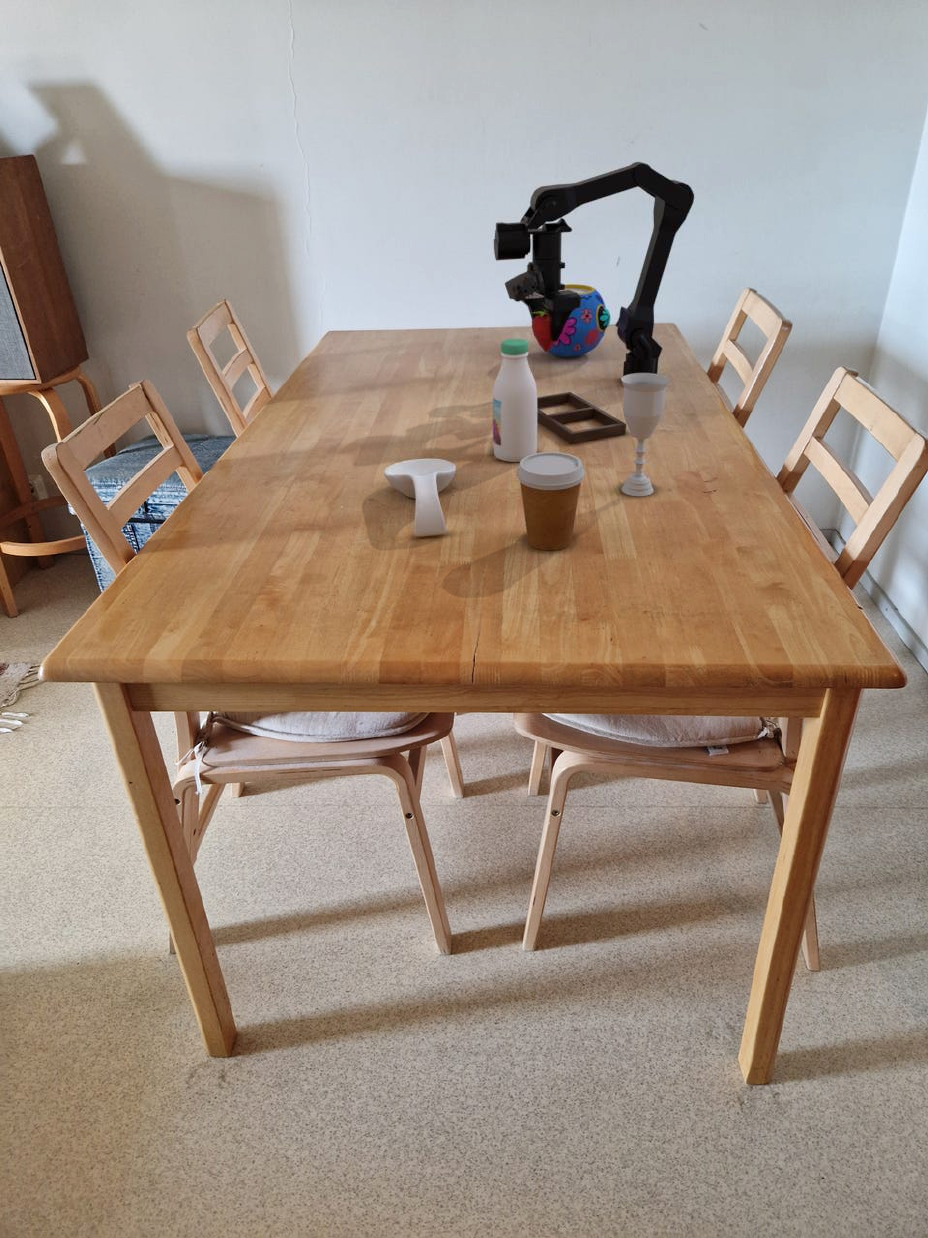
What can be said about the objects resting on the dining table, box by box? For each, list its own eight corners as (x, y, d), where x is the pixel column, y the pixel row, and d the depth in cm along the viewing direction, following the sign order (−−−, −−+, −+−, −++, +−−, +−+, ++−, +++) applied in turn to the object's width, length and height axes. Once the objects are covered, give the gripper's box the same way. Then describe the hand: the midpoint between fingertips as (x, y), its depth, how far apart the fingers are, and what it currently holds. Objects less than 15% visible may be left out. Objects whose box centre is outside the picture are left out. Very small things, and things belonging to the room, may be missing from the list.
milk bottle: (543, 450, 161) (544, 337, 150) (527, 465, 155) (527, 349, 145) (503, 445, 164) (502, 333, 153) (486, 459, 158) (484, 345, 147)
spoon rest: (383, 479, 152) (380, 439, 148) (452, 474, 153) (450, 433, 149) (393, 541, 132) (389, 496, 128) (472, 534, 133) (470, 489, 129)
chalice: (663, 484, 146) (673, 374, 137) (657, 500, 141) (666, 387, 131) (618, 479, 148) (625, 371, 139) (610, 495, 143) (617, 384, 133)
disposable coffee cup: (564, 561, 124) (566, 481, 118) (504, 546, 129) (503, 468, 123) (593, 534, 131) (596, 457, 125) (535, 521, 136) (536, 446, 129)
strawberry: (534, 357, 184) (533, 307, 179) (529, 347, 190) (529, 299, 185) (562, 355, 184) (563, 305, 179) (557, 346, 190) (557, 297, 185)
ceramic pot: (610, 363, 206) (614, 295, 198) (533, 366, 206) (533, 298, 198) (601, 343, 221) (604, 279, 213) (529, 346, 221) (530, 282, 213)
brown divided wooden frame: (569, 401, 184) (570, 391, 183) (625, 434, 166) (626, 423, 165) (519, 409, 180) (519, 400, 179) (571, 444, 163) (571, 433, 162)
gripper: (490, 254, 182) (492, 332, 190) (531, 269, 167) (531, 353, 176) (539, 248, 186) (539, 325, 194) (583, 262, 171) (581, 345, 179)
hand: (546, 337), depth 186 cm, fingers closed on strawberry, 7 cm apart
